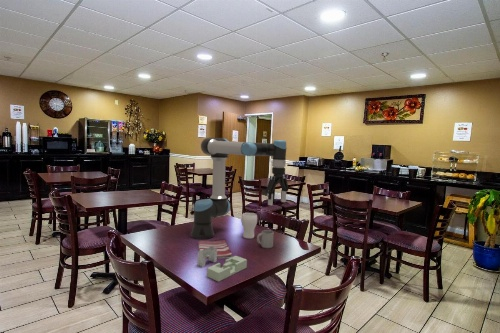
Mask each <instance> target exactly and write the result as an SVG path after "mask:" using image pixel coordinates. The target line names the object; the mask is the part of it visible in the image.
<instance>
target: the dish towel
mask: <svg viewBox="0 0 500 333" xmlns="http://www.w3.org/2000/svg"><path fill="white" fill-rule="evenodd" d="M197 245H198V251H201V250H204V249H207V248H209V247H215V248H217V258H218V259H229V258H231V257H233V252H232V251H231V249H230V248H229V245H228V244H227V241H226V240H225V239H224V240H222V239H221V240H216V241H215V240H213V241H210V240H200V241H197ZM205 260H209V255H208V256H206V258H205Z"/></svg>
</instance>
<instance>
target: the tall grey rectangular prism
mask: <svg viewBox="0 0 500 333" xmlns="http://www.w3.org/2000/svg"><path fill="white" fill-rule="evenodd" d="M208 255H209V259H208V261H209V262H212V263H217V262H218V259H217V248H215V247H209V248H207V249H204V250H201V251H199V250H198V251H197V259H196V260H197V262H196V263H197V264H196V265H197V266H198V267H200V268H205V267H206V259H205V258H206V256H208Z"/></svg>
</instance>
